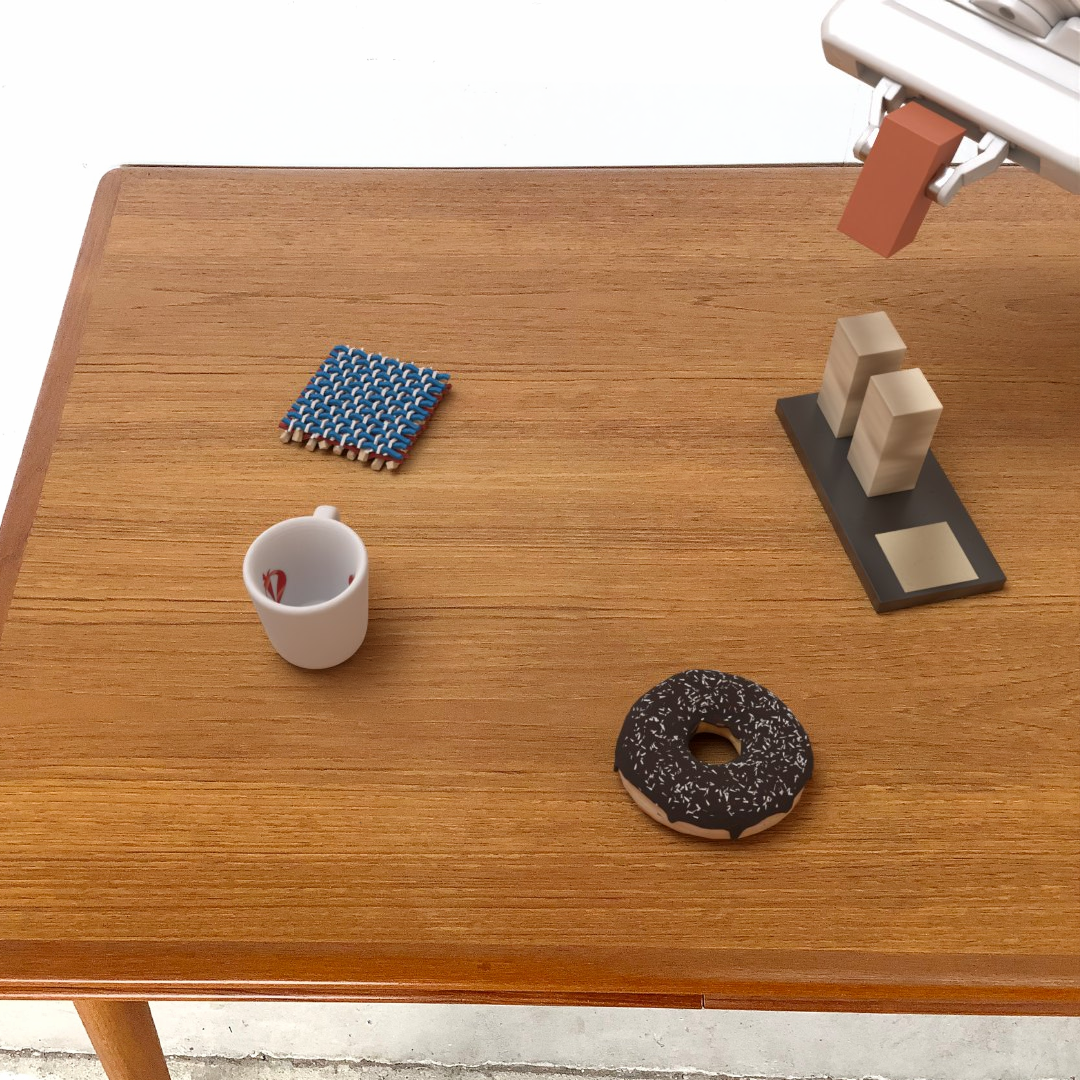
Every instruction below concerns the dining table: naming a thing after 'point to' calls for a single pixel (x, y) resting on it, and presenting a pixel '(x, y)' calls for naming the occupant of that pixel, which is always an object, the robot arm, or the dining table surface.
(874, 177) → the terracotta rectangular block
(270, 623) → the cup
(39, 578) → the dining table surface
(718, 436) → the dining table surface
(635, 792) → the donut
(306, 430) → the woven mat
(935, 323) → the dining table surface
